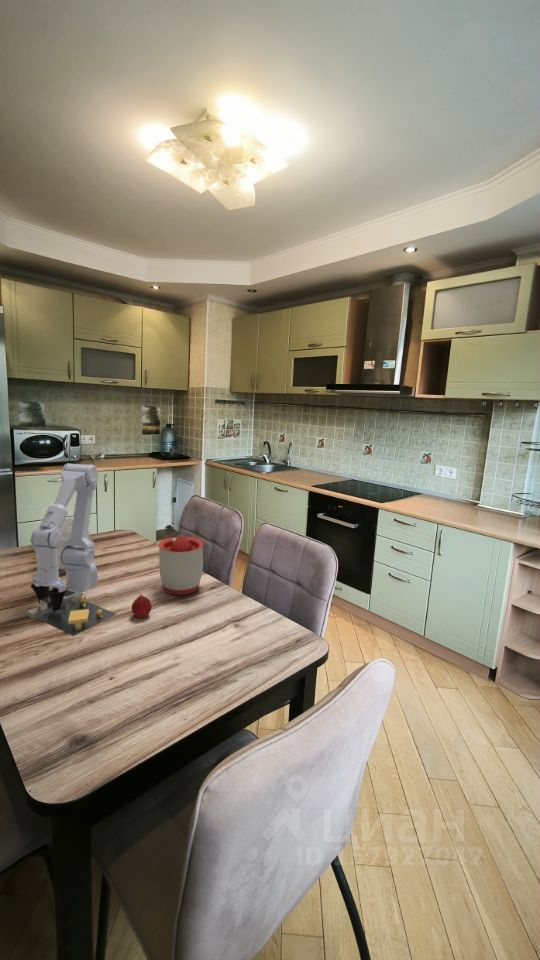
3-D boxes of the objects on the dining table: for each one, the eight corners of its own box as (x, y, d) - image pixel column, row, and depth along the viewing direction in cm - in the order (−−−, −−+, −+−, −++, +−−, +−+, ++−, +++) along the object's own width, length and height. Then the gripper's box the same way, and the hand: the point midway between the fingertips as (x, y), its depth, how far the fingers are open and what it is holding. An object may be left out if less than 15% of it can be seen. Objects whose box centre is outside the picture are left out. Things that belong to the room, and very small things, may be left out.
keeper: (70, 621, 122) (70, 611, 122) (89, 618, 124) (88, 609, 123) (68, 631, 117) (68, 621, 116) (87, 629, 118) (87, 618, 118)
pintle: (83, 603, 133) (83, 593, 132) (87, 605, 132) (87, 595, 131) (77, 606, 131) (77, 595, 131) (81, 607, 130) (81, 597, 130)
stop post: (99, 615, 126) (99, 608, 126) (103, 616, 126) (103, 609, 125) (95, 617, 125) (95, 610, 125) (98, 618, 124) (98, 612, 124)
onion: (155, 616, 128) (155, 592, 127) (142, 624, 123) (142, 600, 122) (141, 611, 131) (140, 588, 129) (127, 620, 126) (127, 595, 124)
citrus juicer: (199, 576, 160) (199, 526, 156) (206, 595, 144) (207, 540, 140) (157, 579, 155) (156, 528, 151) (160, 600, 139) (159, 543, 135)
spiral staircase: (74, 561, 180) (86, 579, 159) (31, 550, 170) (38, 568, 149) (92, 521, 182) (106, 534, 162) (50, 508, 172) (59, 520, 151)
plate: (70, 596, 139) (70, 594, 139) (117, 616, 127) (116, 614, 127) (26, 615, 126) (25, 612, 126) (73, 638, 115) (73, 635, 115)
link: (70, 595, 138) (69, 586, 137) (82, 601, 135) (82, 590, 134) (24, 614, 125) (23, 603, 124) (36, 620, 122) (36, 609, 121)
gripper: (20, 564, 126) (23, 605, 129) (49, 575, 119) (52, 619, 121) (43, 557, 132) (45, 597, 135) (71, 568, 125) (73, 609, 128)
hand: (50, 607), depth 128 cm, fingers open, 6 cm apart
